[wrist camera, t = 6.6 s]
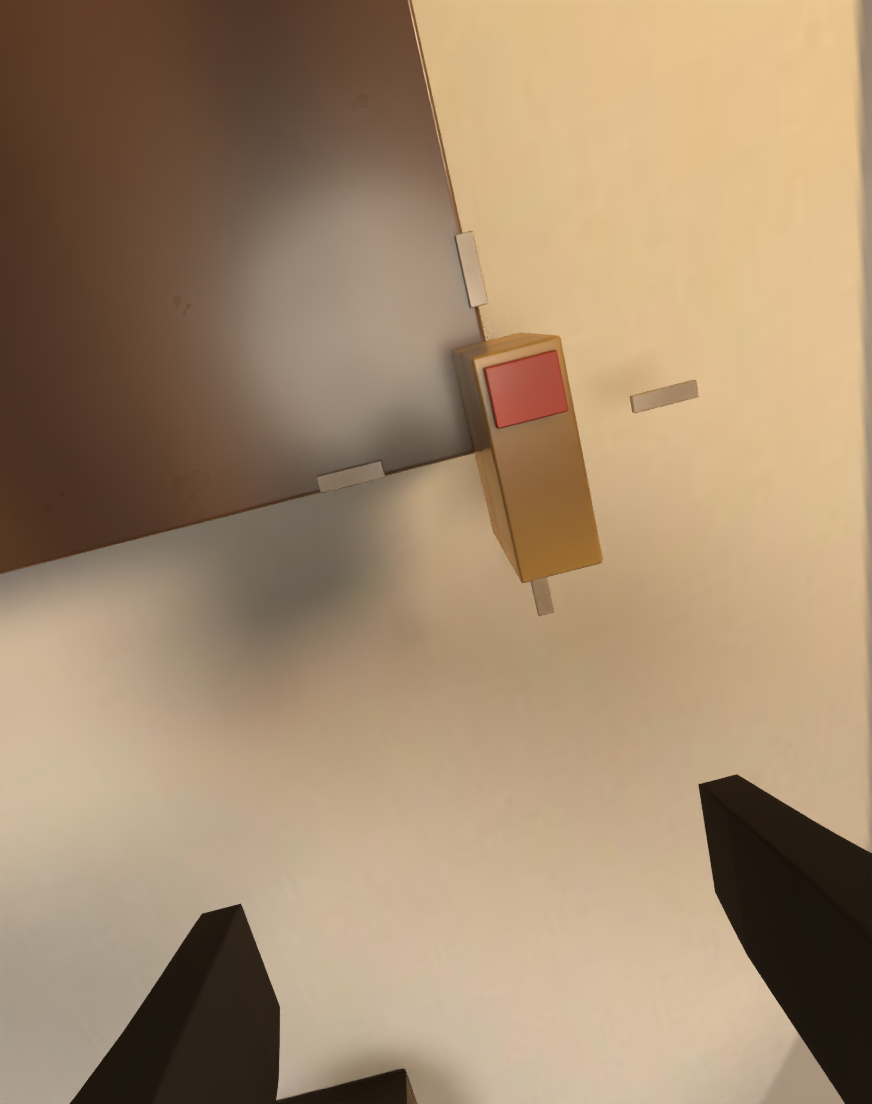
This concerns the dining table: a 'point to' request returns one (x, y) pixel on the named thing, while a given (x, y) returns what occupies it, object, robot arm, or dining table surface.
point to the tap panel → (222, 265)
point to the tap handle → (529, 453)
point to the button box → (363, 1092)
